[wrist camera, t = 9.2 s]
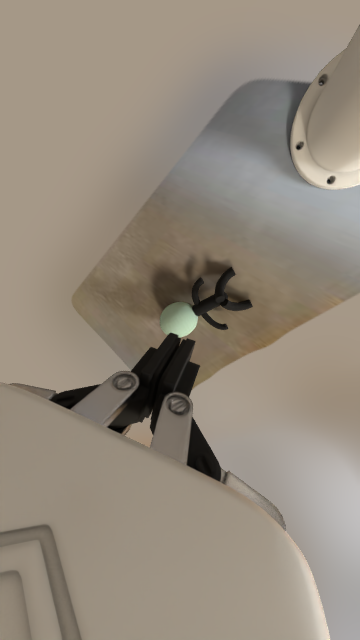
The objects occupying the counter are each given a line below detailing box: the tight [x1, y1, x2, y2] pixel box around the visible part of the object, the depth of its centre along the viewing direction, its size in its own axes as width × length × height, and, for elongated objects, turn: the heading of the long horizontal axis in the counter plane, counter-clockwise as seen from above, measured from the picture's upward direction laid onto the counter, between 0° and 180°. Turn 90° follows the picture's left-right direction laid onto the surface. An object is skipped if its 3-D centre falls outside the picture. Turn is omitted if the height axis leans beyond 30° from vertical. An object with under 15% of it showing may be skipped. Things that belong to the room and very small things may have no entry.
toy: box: [160, 267, 253, 337], centre depth 33 cm, size 10×6×15 cm
